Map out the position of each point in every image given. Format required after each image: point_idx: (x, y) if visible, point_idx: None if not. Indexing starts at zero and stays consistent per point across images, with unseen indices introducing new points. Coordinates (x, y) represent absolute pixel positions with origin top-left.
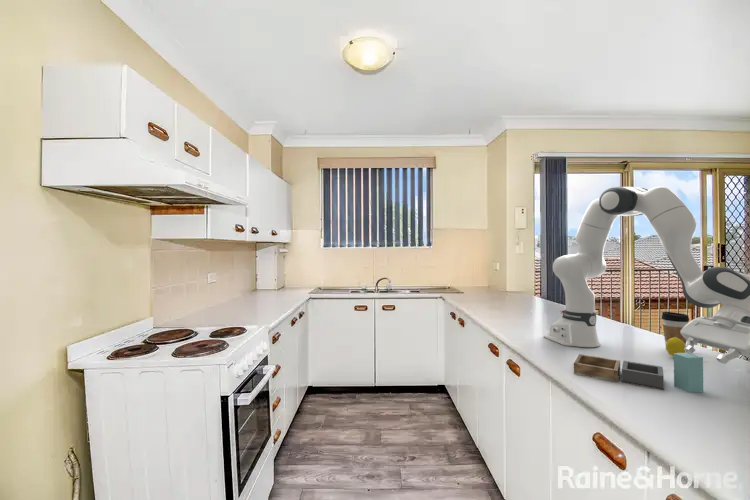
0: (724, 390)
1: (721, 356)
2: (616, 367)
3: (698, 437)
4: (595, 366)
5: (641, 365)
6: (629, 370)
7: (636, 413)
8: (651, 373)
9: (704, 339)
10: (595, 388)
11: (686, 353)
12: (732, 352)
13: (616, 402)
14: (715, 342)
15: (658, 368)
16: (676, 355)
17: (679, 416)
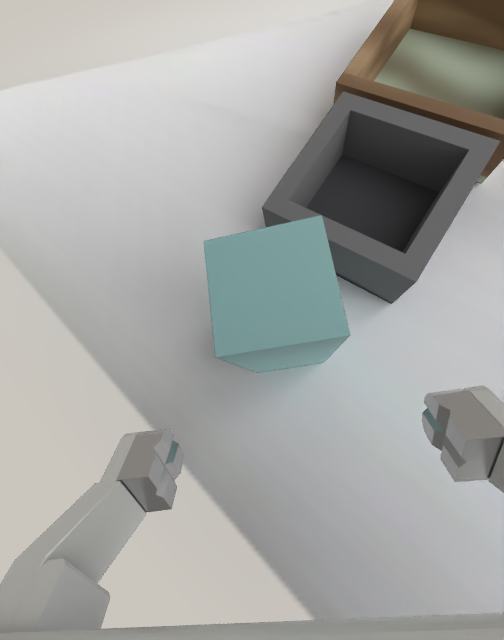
0: (278, 482)
1: (126, 458)
2: (383, 90)
3: (17, 163)
4: (383, 24)
5: (438, 201)
6: (329, 113)
7: (118, 99)
8: (295, 177)
9: (432, 619)
10: (269, 58)
11: (322, 306)
12: (23, 552)
13: (176, 80)
14: (216, 627)
15: (377, 243)
16: (297, 227)
17: (96, 179)
